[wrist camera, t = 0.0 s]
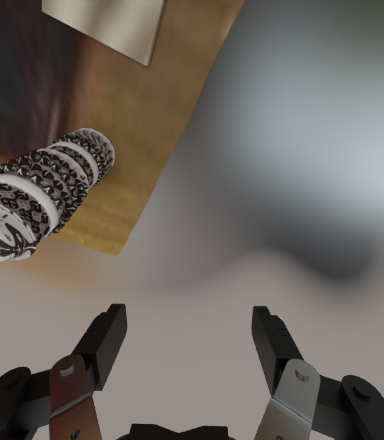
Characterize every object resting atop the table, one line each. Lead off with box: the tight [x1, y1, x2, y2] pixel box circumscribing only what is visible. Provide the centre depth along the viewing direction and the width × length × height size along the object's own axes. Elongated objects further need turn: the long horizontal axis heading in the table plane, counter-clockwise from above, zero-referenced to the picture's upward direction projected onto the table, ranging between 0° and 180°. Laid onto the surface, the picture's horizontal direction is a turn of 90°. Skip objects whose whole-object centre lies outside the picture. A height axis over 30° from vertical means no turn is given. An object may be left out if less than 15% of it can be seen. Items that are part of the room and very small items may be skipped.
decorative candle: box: [0, 128, 115, 262], centre depth 29 cm, size 9×9×25 cm
